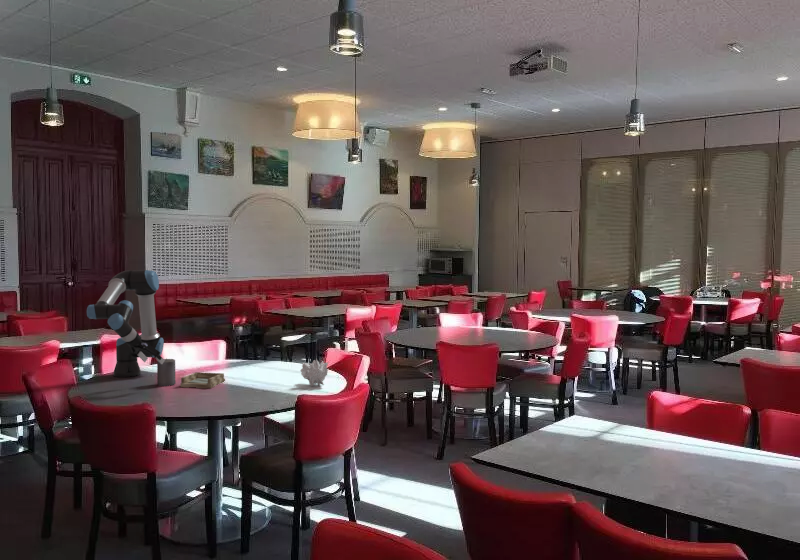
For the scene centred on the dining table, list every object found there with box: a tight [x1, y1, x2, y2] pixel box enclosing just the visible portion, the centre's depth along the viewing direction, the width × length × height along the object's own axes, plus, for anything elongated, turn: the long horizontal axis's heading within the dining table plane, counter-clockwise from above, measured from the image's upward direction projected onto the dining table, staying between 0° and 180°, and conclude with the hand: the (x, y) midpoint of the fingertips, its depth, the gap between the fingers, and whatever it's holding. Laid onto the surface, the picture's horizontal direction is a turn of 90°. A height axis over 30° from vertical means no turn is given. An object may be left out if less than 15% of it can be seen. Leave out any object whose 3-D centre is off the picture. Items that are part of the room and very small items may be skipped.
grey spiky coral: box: [300, 358, 329, 387], centre depth 373 cm, size 20×17×15 cm
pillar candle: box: [156, 358, 177, 387], centre depth 372 cm, size 10×10×15 cm
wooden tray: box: [179, 372, 226, 389], centre depth 373 cm, size 18×18×5 cm
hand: (154, 361), depth 364 cm, fingers open, 13 cm apart
